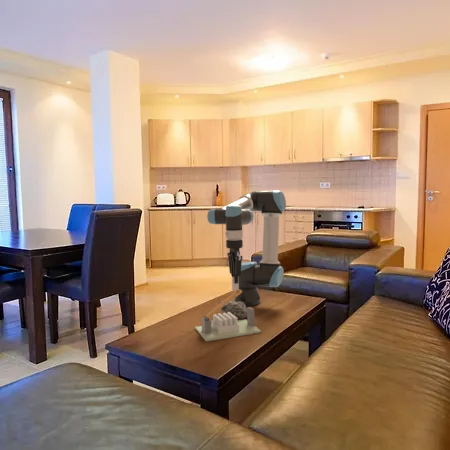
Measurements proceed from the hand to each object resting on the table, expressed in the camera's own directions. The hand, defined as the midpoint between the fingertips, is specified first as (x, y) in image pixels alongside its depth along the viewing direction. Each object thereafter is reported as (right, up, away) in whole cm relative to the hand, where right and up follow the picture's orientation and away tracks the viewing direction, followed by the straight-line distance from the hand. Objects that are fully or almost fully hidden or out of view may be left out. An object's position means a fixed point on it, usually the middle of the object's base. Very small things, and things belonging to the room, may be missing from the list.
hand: (235, 289), depth 179 cm
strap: (-5, -7, -1) cm, 9 cm away
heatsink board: (-4, -19, 0) cm, 19 cm away
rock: (0, -18, +19) cm, 26 cm away
